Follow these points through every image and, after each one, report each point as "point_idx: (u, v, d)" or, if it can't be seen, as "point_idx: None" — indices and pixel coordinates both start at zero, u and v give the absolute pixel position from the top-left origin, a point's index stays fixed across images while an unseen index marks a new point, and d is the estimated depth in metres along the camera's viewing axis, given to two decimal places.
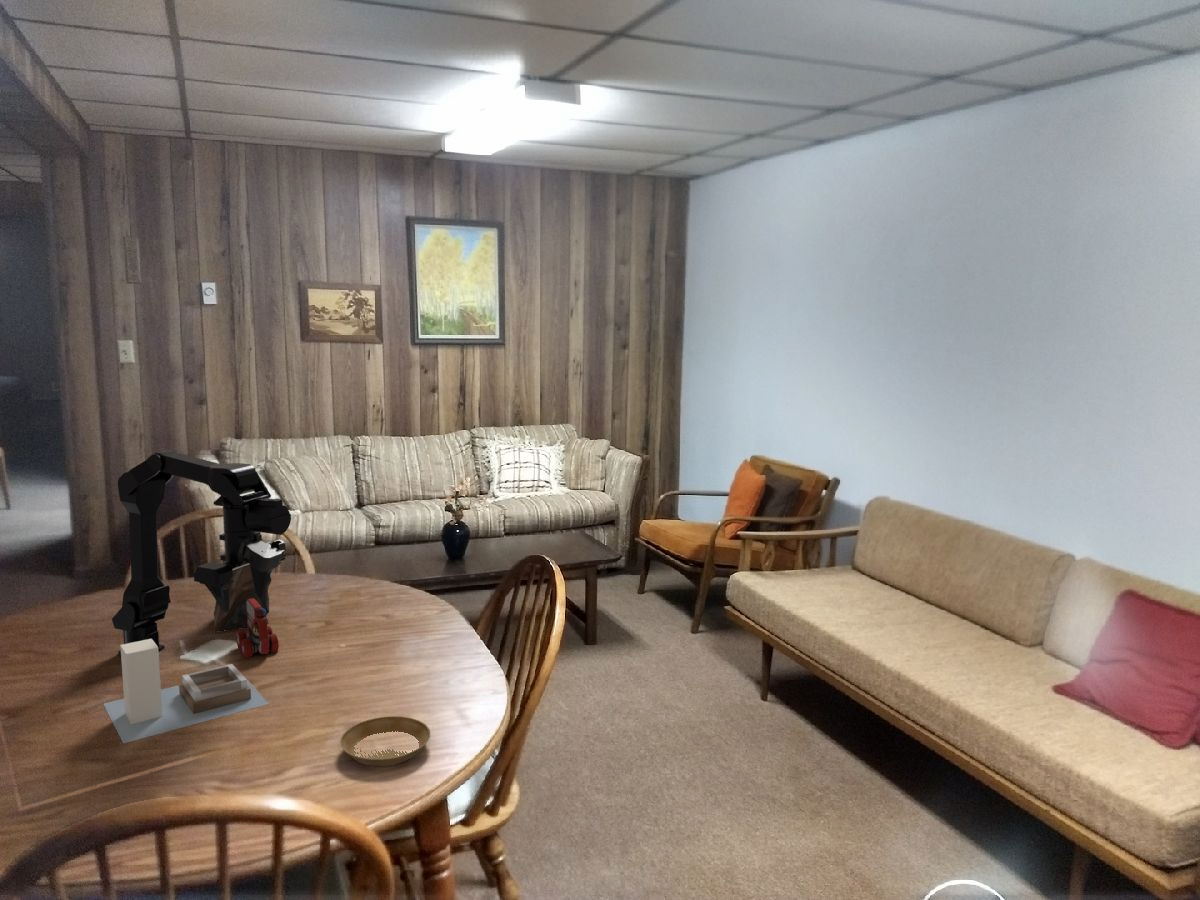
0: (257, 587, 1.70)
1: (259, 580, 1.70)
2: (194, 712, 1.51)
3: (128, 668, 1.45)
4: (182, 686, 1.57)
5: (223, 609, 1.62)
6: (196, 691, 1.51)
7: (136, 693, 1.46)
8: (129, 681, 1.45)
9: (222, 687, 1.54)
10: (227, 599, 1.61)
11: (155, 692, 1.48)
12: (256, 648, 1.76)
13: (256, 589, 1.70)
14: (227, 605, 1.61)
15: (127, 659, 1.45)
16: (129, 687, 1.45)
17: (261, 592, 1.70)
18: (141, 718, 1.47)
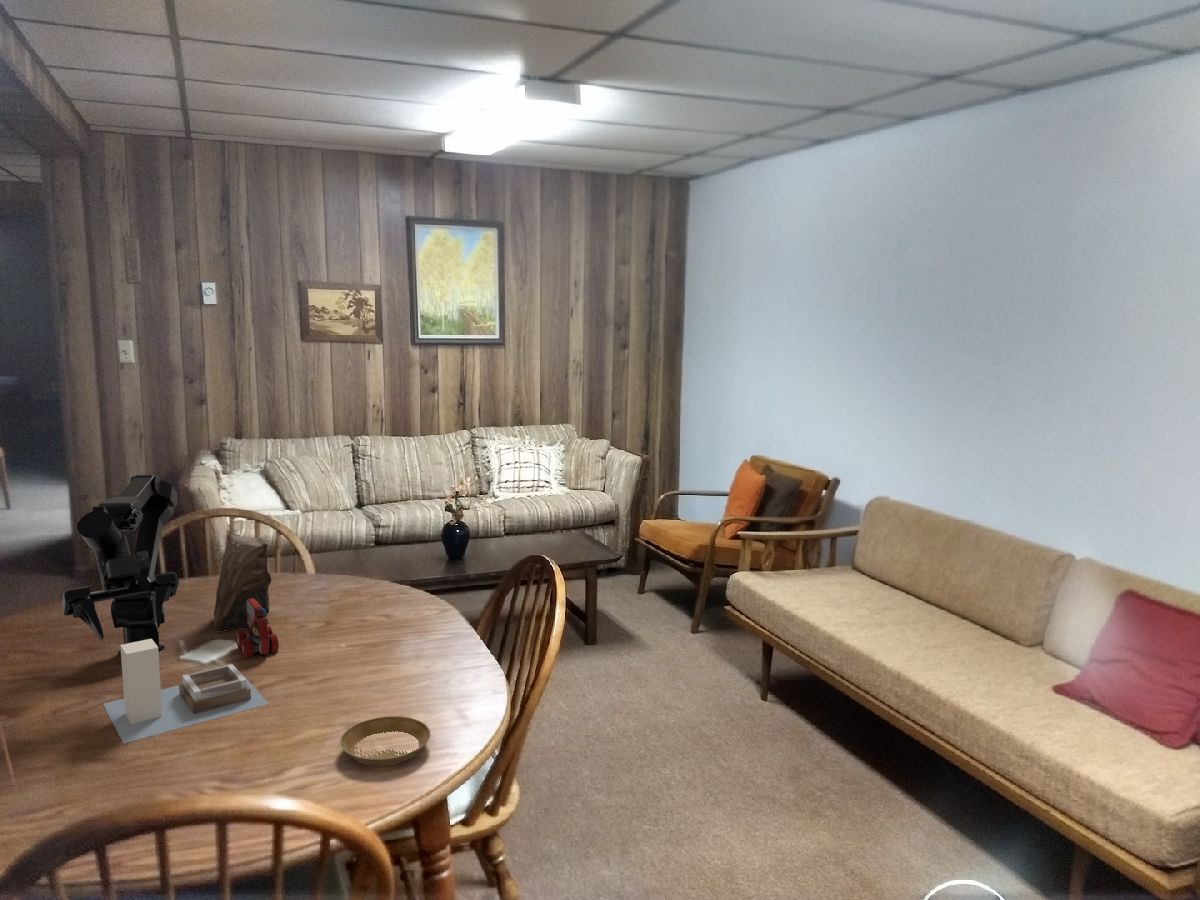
0: (155, 618, 1.58)
1: (154, 610, 1.58)
2: (194, 712, 1.51)
3: (128, 668, 1.45)
4: (182, 686, 1.57)
5: (99, 636, 1.51)
6: (196, 691, 1.51)
7: (136, 693, 1.46)
8: (129, 681, 1.45)
9: (222, 687, 1.54)
10: (96, 622, 1.51)
11: (155, 692, 1.48)
12: (256, 648, 1.76)
13: (155, 621, 1.57)
14: (98, 628, 1.51)
15: (127, 659, 1.45)
16: (129, 687, 1.45)
17: (156, 620, 1.56)
18: (141, 718, 1.47)
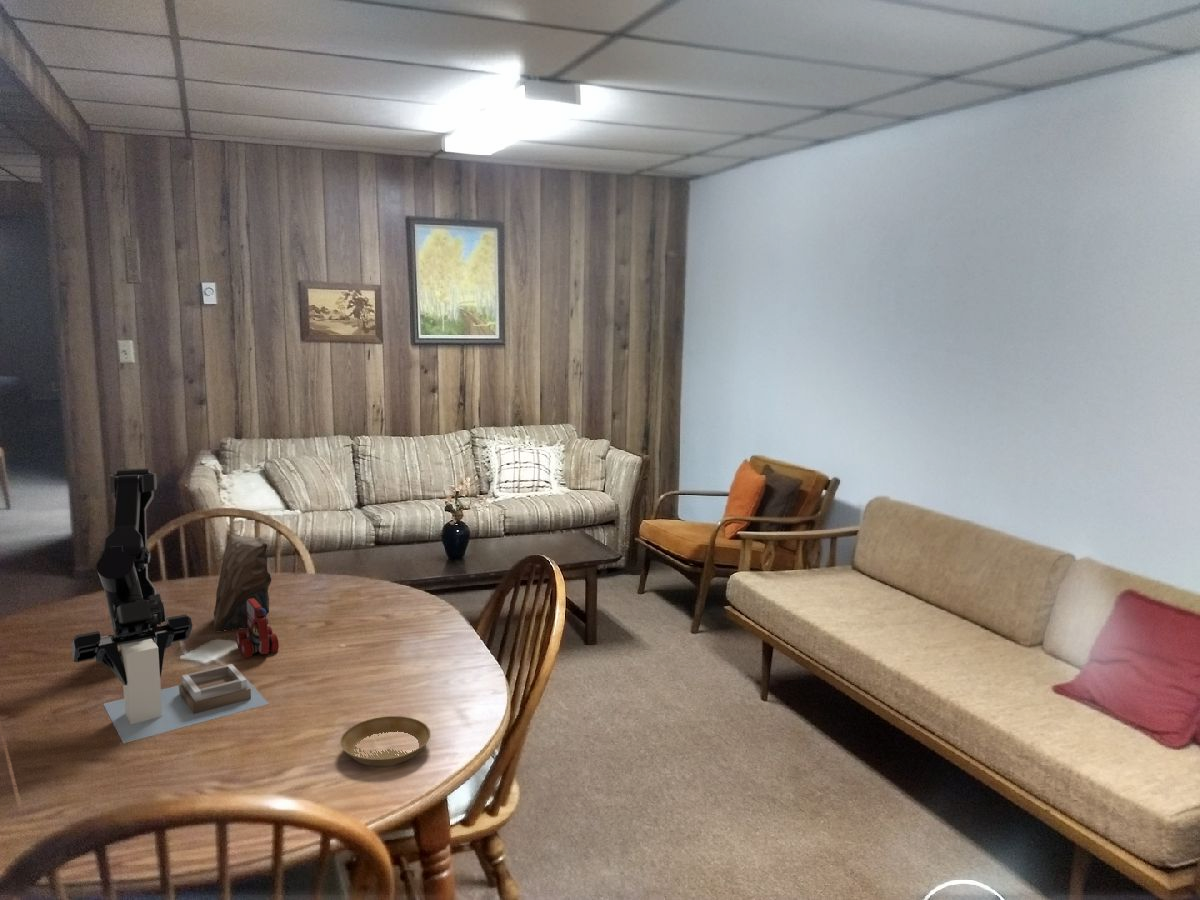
0: None
1: None
2: (194, 712, 1.51)
3: (128, 668, 1.45)
4: (182, 686, 1.57)
5: (122, 681, 1.46)
6: (196, 691, 1.51)
7: (136, 693, 1.46)
8: (129, 681, 1.45)
9: (222, 687, 1.54)
10: (120, 667, 1.46)
11: (155, 692, 1.48)
12: (256, 648, 1.76)
13: None
14: (122, 674, 1.46)
15: (127, 659, 1.45)
16: (129, 687, 1.45)
17: None
18: (141, 718, 1.47)
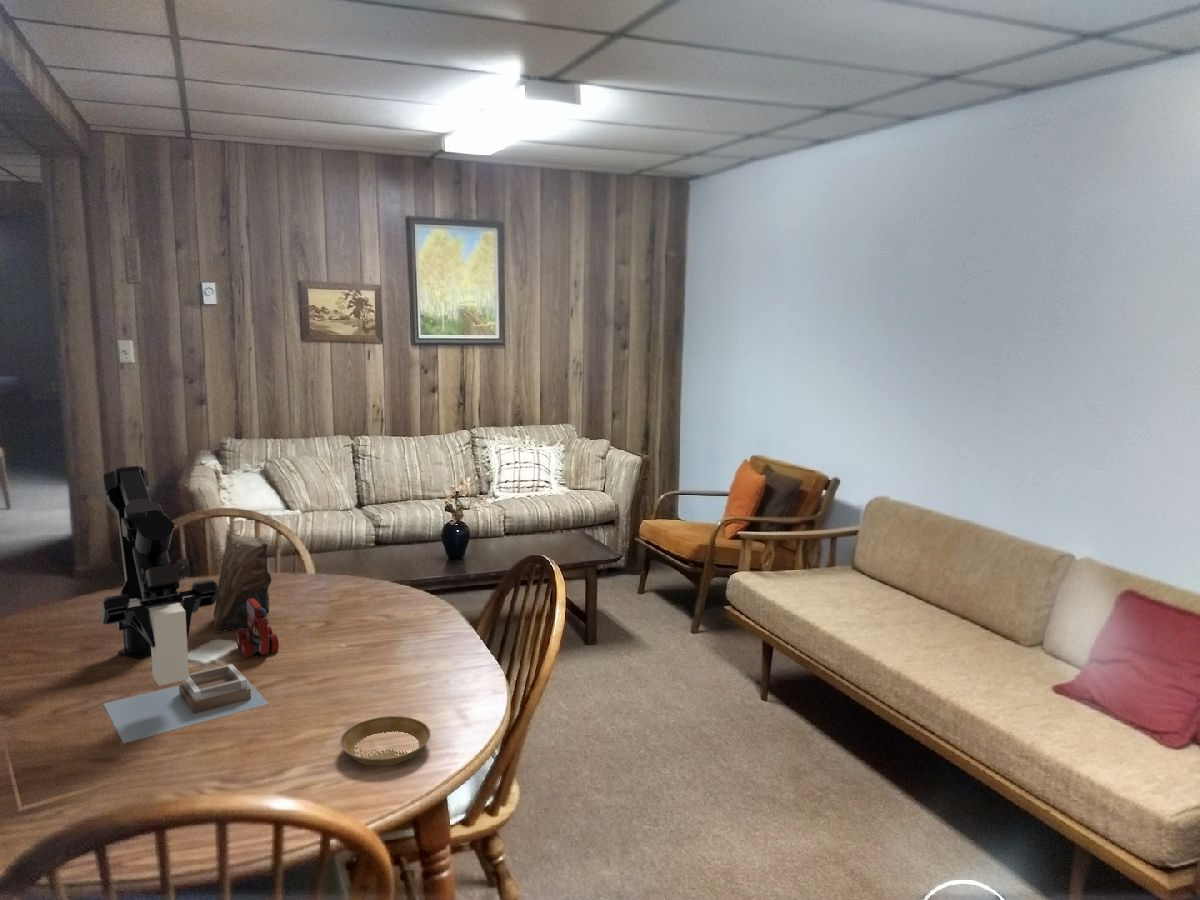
0: None
1: None
2: (194, 712, 1.51)
3: (156, 630, 1.47)
4: (182, 686, 1.57)
5: (150, 644, 1.48)
6: (196, 691, 1.51)
7: (164, 655, 1.48)
8: (157, 643, 1.47)
9: (222, 687, 1.54)
10: (148, 629, 1.48)
11: (182, 655, 1.50)
12: (256, 648, 1.76)
13: None
14: (150, 636, 1.48)
15: (155, 621, 1.47)
16: (157, 649, 1.48)
17: None
18: (168, 680, 1.49)
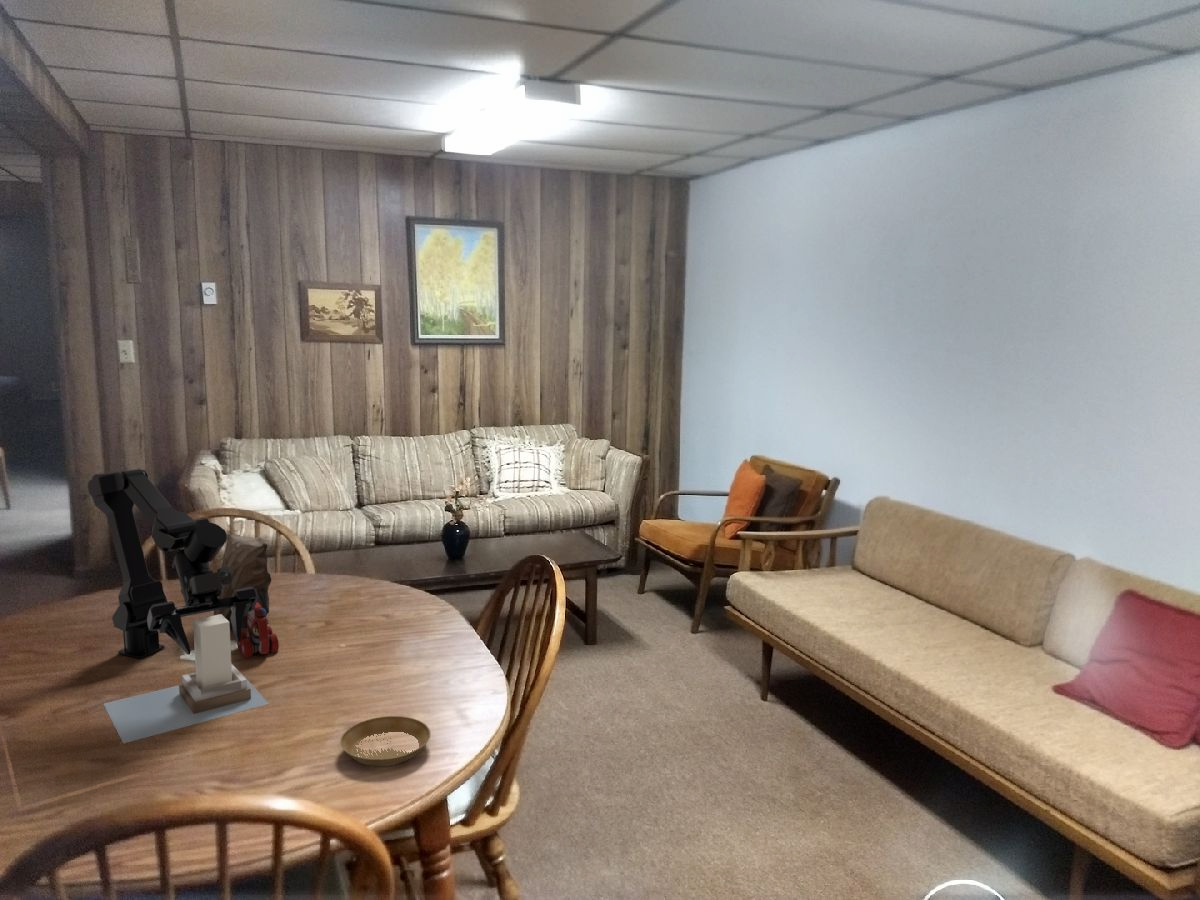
0: (235, 634, 1.59)
1: (234, 626, 1.59)
2: (194, 712, 1.51)
3: (202, 641, 1.52)
4: (182, 686, 1.57)
5: (186, 651, 1.52)
6: (196, 691, 1.51)
7: (209, 665, 1.54)
8: (203, 654, 1.53)
9: (222, 687, 1.54)
10: (183, 637, 1.52)
11: (226, 664, 1.55)
12: (256, 648, 1.76)
13: (235, 636, 1.59)
14: (186, 644, 1.52)
15: (201, 632, 1.52)
16: (203, 659, 1.53)
17: (237, 636, 1.58)
18: None
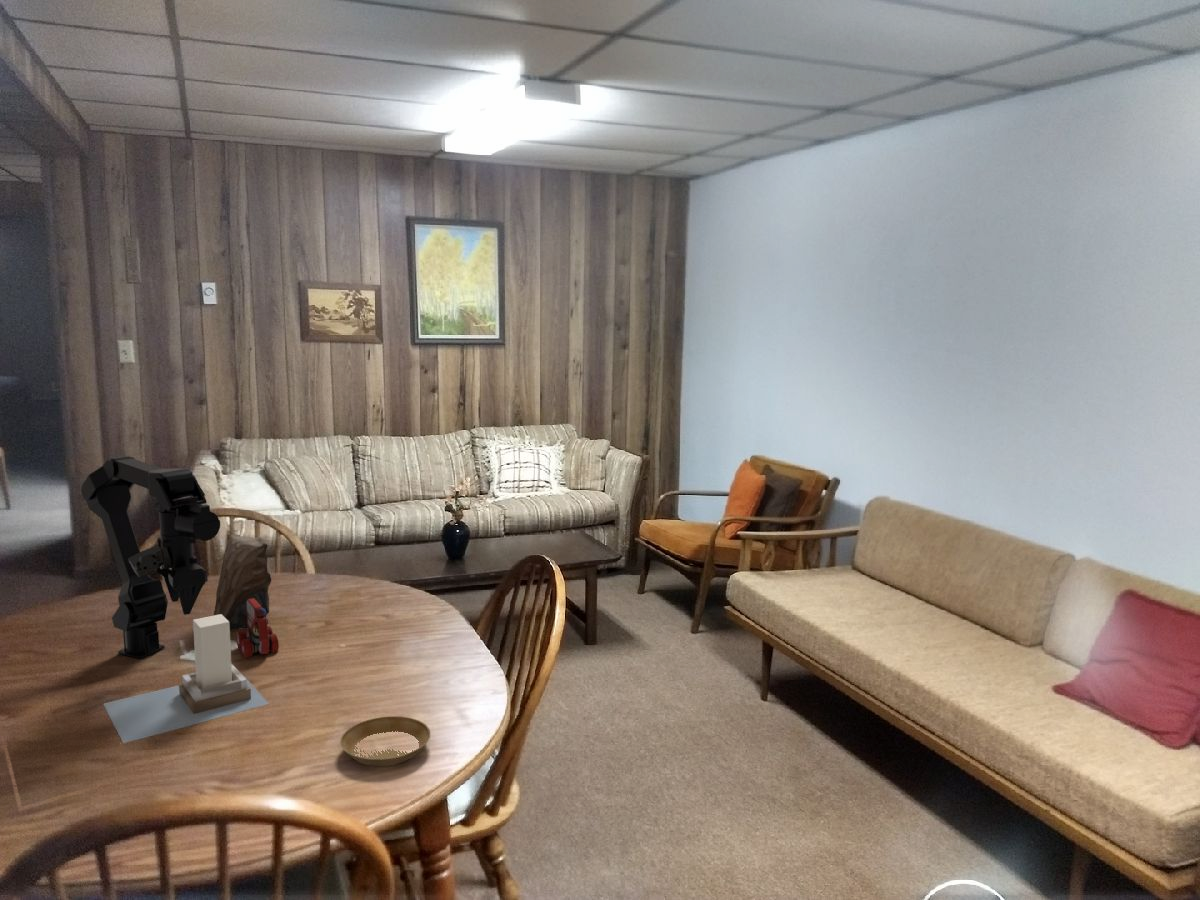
0: None
1: None
2: (194, 712, 1.51)
3: (202, 641, 1.52)
4: (182, 686, 1.57)
5: None
6: (196, 691, 1.51)
7: (209, 665, 1.54)
8: (203, 653, 1.53)
9: (222, 687, 1.54)
10: None
11: (226, 664, 1.56)
12: (256, 648, 1.76)
13: None
14: (169, 593, 1.71)
15: (201, 632, 1.52)
16: (202, 659, 1.53)
17: None
18: None
